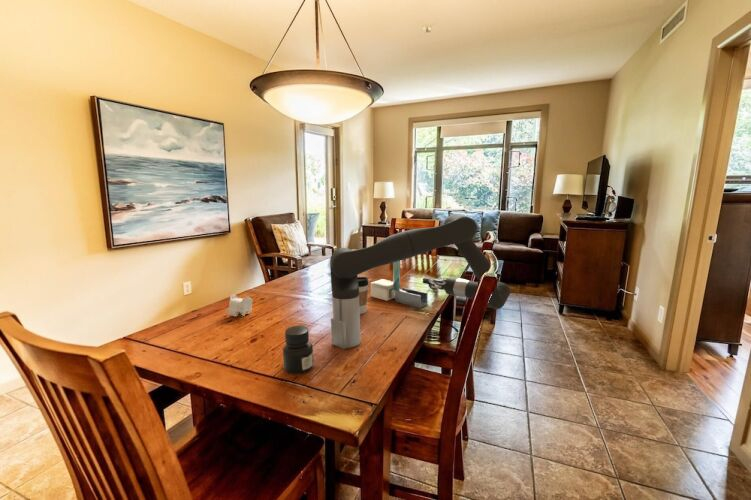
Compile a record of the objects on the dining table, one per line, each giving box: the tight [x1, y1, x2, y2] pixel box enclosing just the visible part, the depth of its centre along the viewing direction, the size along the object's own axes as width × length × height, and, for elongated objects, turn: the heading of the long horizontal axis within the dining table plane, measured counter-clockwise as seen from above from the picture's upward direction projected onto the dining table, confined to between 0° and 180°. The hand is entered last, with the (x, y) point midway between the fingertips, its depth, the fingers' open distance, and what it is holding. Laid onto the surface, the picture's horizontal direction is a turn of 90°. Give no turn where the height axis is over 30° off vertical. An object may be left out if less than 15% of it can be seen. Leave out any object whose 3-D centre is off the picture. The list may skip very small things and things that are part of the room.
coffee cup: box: [357, 276, 369, 315], centre depth 147 cm, size 8×8×15 cm
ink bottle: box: [282, 325, 315, 375], centre depth 102 cm, size 10×9×12 cm
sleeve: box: [394, 287, 428, 309], centre depth 157 cm, size 6×14×6 cm, turn 48°
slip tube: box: [389, 261, 407, 299], centre depth 163 cm, size 4×16×19 cm, turn 48°
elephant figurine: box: [224, 293, 254, 317], centre depth 146 cm, size 10×12×9 cm
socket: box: [370, 278, 394, 301], centre depth 168 cm, size 9×10×7 cm
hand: (423, 280), depth 151 cm, fingers closed
